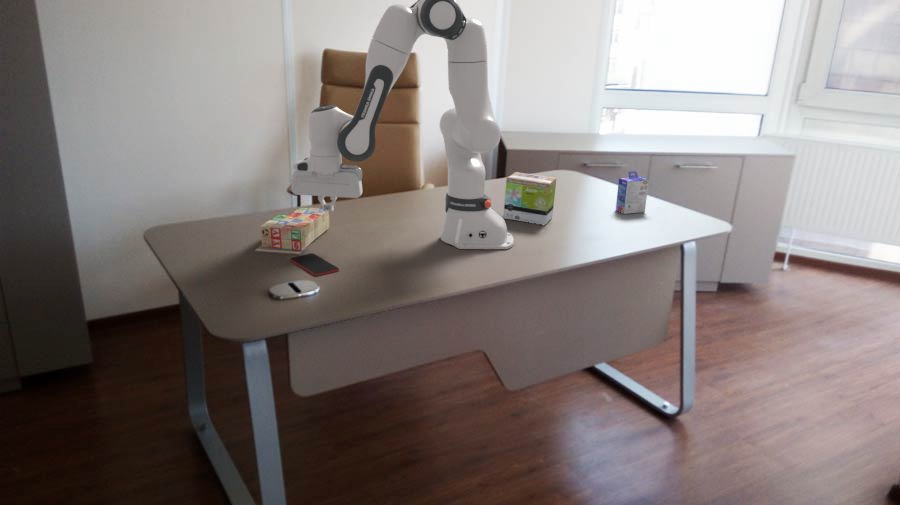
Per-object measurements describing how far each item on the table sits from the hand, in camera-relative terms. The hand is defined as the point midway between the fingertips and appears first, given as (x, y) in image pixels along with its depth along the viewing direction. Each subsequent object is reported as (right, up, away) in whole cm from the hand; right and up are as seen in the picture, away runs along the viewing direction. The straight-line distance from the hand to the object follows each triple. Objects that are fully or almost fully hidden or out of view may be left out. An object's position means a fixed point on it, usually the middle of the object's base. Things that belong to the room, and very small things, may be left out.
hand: (328, 210), depth 189 cm
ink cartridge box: (+101, +2, +46) cm, 111 cm away
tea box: (+62, -1, +33) cm, 70 cm away
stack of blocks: (-4, -5, +2) cm, 7 cm away
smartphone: (-1, -16, -15) cm, 22 cm away
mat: (-12, -8, +4) cm, 15 cm away
